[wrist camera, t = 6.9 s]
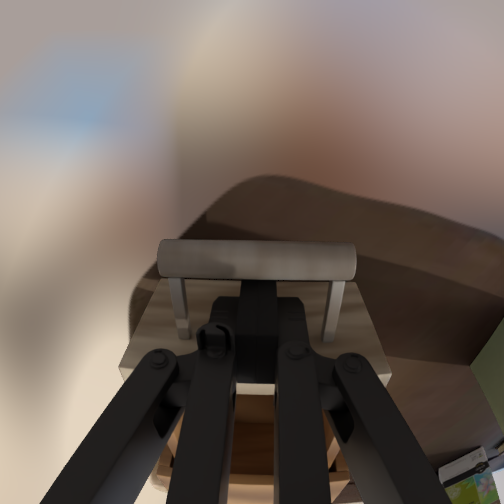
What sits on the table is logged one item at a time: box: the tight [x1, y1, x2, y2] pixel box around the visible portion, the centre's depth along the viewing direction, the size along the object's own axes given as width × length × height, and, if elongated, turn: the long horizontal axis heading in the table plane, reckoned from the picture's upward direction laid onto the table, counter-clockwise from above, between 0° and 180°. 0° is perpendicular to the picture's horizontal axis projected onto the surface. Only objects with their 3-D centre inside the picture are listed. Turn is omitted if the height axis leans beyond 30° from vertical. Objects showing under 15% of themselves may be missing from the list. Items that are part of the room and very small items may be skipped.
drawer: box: [119, 239, 392, 475], centre depth 19 cm, size 21×13×8 cm, turn 0°
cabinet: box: [156, 444, 350, 504], centre depth 25 cm, size 17×14×10 cm
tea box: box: [439, 447, 501, 504], centre depth 34 cm, size 15×10×15 cm, turn 30°
